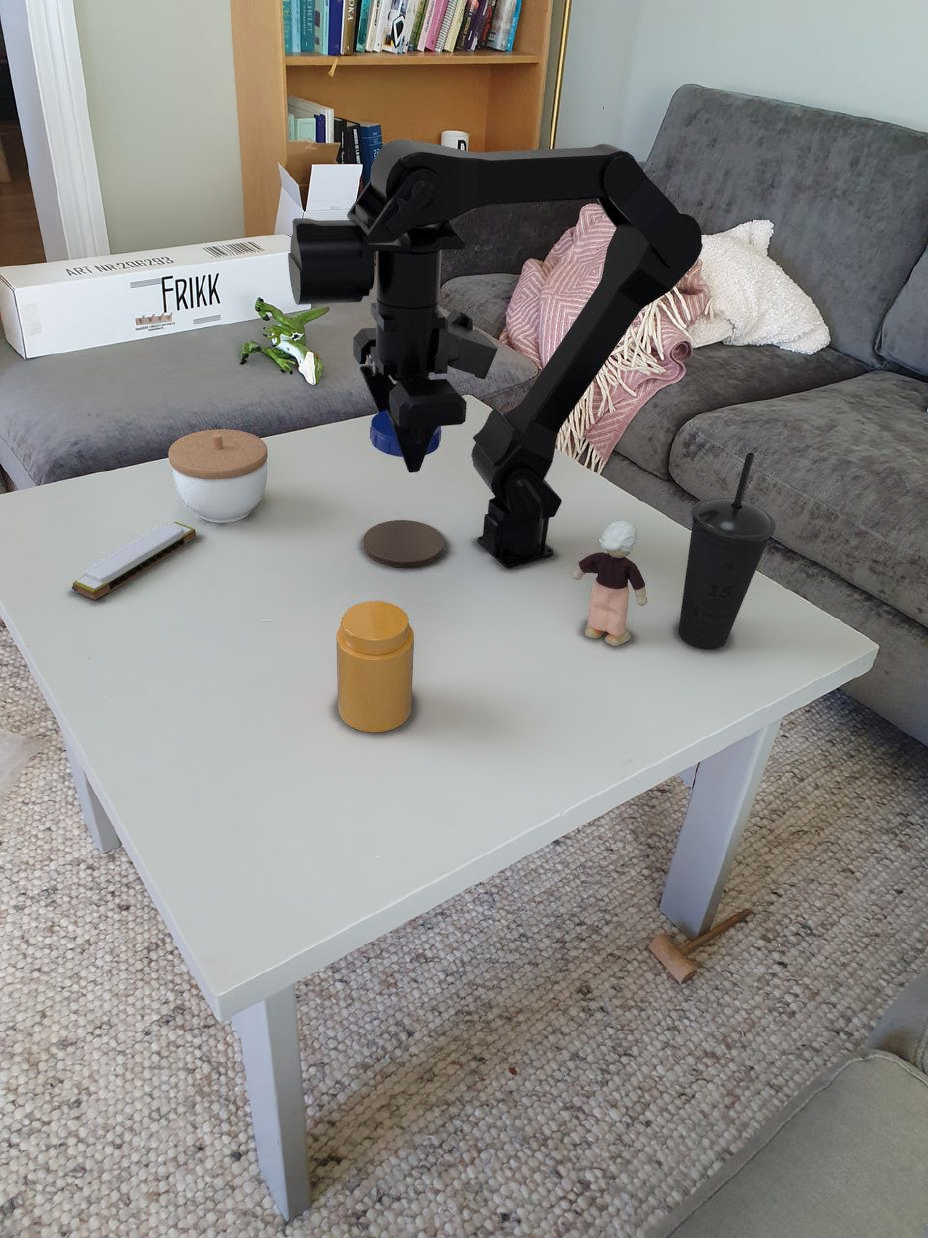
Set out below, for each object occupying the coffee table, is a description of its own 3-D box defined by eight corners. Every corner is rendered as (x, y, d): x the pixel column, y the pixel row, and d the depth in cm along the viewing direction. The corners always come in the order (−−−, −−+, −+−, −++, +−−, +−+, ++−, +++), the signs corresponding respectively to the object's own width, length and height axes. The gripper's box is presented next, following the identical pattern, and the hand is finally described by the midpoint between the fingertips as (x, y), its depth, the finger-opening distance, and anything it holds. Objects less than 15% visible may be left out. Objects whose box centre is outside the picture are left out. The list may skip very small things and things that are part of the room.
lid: (362, 451, 89) (363, 433, 87) (380, 420, 94) (381, 403, 93) (431, 462, 88) (433, 444, 87) (445, 431, 93) (447, 413, 92)
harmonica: (175, 530, 102) (173, 514, 101) (196, 538, 101) (194, 522, 100) (72, 592, 91) (69, 575, 90) (95, 602, 90) (91, 585, 89)
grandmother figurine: (642, 631, 92) (666, 522, 85) (635, 653, 89) (660, 541, 82) (568, 613, 94) (585, 504, 86) (559, 633, 91) (576, 523, 83)
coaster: (419, 519, 107) (419, 513, 107) (458, 556, 101) (459, 550, 101) (349, 536, 103) (349, 530, 103) (386, 575, 97) (386, 569, 97)
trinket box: (250, 540, 101) (243, 463, 96) (159, 525, 103) (148, 448, 97) (284, 495, 110) (280, 422, 104) (201, 482, 111) (192, 409, 106)
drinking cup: (655, 613, 95) (696, 434, 83) (726, 613, 96) (776, 436, 84) (675, 659, 89) (722, 473, 77) (751, 658, 89) (808, 475, 78)
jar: (378, 674, 84) (379, 588, 78) (426, 710, 81) (430, 622, 75) (323, 705, 80) (320, 616, 75) (370, 743, 77) (370, 653, 71)
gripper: (528, 329, 78) (511, 491, 87) (459, 266, 92) (451, 412, 101) (402, 335, 75) (399, 503, 84) (351, 270, 89) (352, 420, 98)
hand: (404, 456), depth 92 cm, fingers closed on lid, 6 cm apart
